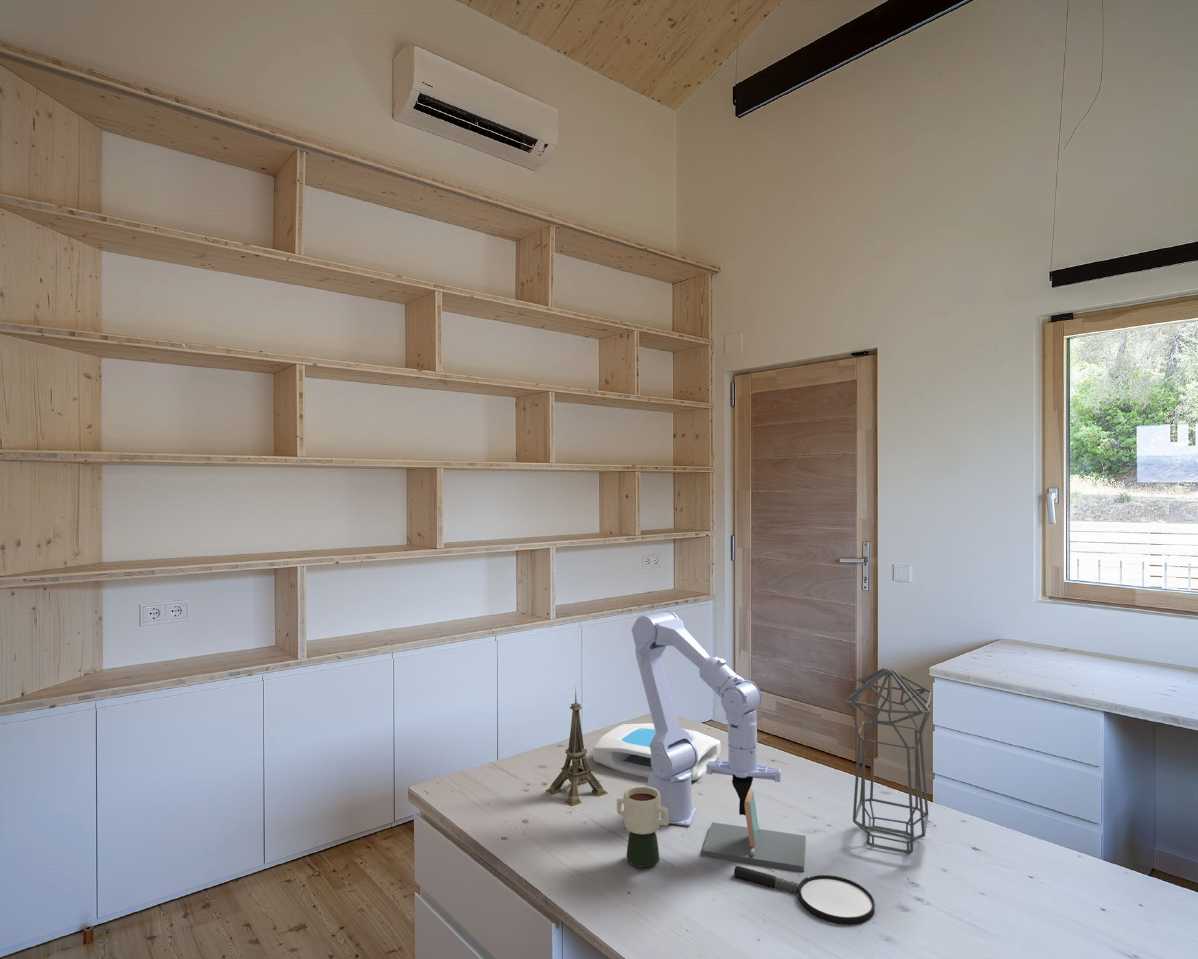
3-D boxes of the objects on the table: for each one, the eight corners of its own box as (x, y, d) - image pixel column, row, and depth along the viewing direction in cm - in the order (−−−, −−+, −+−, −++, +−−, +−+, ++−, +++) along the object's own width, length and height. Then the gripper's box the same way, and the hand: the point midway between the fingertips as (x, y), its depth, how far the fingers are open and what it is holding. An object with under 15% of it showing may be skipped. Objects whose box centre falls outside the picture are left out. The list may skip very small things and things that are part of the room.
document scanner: (692, 787, 164) (691, 761, 164) (592, 766, 178) (591, 742, 178) (721, 758, 182) (721, 734, 182) (628, 740, 196) (628, 718, 196)
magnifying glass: (745, 861, 131) (745, 850, 131) (878, 897, 120) (878, 884, 120) (724, 895, 120) (724, 883, 120) (869, 938, 109) (869, 924, 109)
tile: (744, 804, 133) (749, 804, 132) (748, 789, 139) (753, 789, 139) (750, 846, 132) (755, 846, 132) (753, 829, 139) (758, 829, 138)
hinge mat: (702, 855, 132) (702, 845, 133) (712, 826, 144) (711, 817, 144) (803, 871, 126) (803, 861, 126) (805, 840, 138) (805, 831, 138)
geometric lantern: (934, 831, 141) (933, 663, 141) (931, 871, 127) (930, 684, 127) (854, 814, 148) (852, 655, 148) (842, 850, 134) (841, 673, 134)
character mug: (676, 859, 131) (675, 791, 132) (662, 877, 125) (661, 806, 125) (625, 846, 136) (624, 781, 137) (609, 863, 130) (608, 795, 130)
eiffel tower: (571, 806, 154) (570, 696, 155) (545, 791, 162) (544, 686, 163) (607, 793, 161) (606, 687, 161) (580, 779, 169) (579, 678, 170)
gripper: (703, 747, 135) (704, 816, 134) (778, 755, 130) (780, 827, 130) (709, 735, 141) (710, 801, 141) (780, 742, 137) (782, 810, 136)
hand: (744, 812), depth 136 cm, fingers closed, pressing on tile
